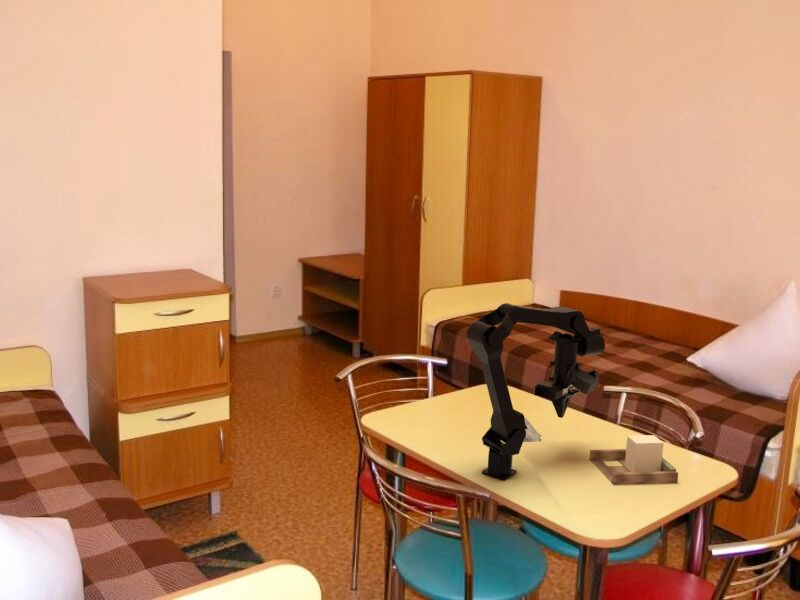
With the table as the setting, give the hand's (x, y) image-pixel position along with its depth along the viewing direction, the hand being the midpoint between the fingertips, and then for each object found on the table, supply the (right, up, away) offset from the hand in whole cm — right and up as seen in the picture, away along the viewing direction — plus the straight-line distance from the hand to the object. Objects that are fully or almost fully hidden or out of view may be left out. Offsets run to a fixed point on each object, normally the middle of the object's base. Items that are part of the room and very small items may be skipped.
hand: (560, 417), depth 198 cm
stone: (-5, -9, +18) cm, 21 cm away
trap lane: (+16, -14, -5) cm, 22 cm away
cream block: (+19, -12, -5) cm, 23 cm away
